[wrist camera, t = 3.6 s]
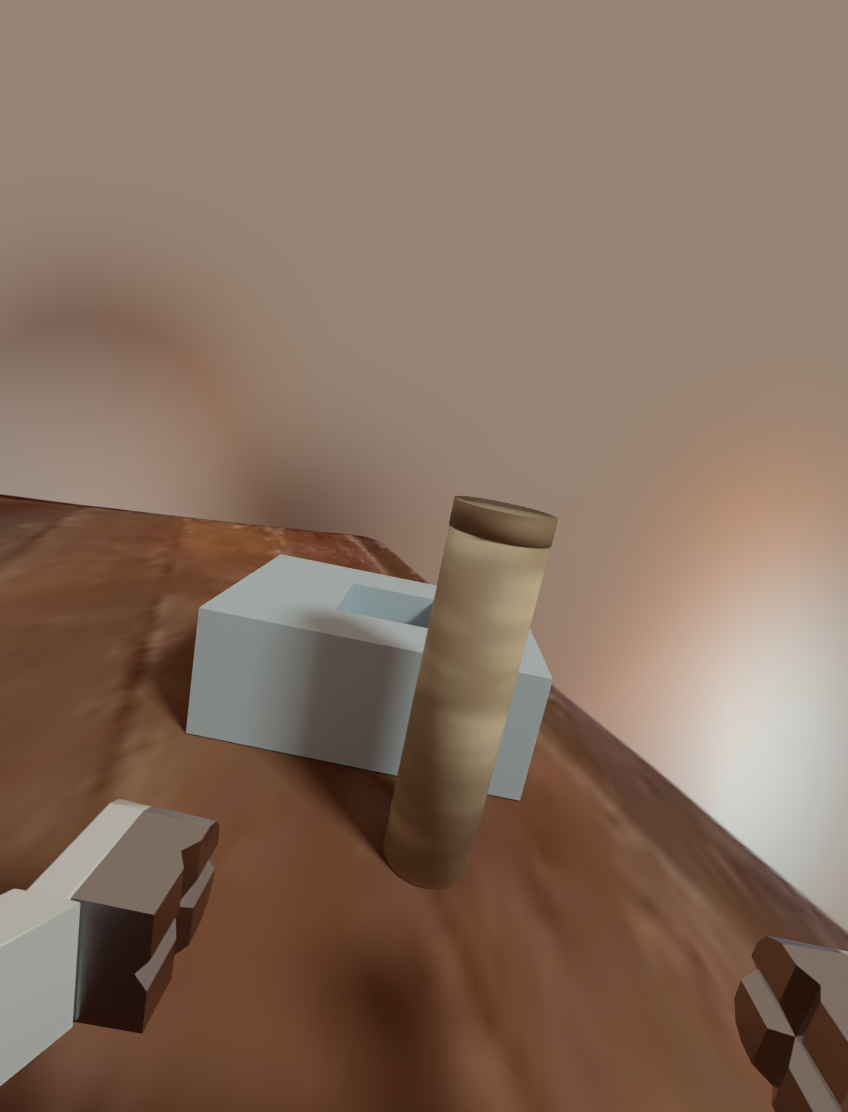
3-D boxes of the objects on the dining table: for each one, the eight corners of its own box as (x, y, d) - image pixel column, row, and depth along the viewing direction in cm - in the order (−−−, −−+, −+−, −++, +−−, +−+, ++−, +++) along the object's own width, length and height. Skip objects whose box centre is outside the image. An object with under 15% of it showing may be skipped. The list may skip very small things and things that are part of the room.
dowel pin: (366, 860, 17) (439, 497, 14) (404, 806, 19) (472, 495, 17) (452, 906, 16) (549, 523, 13) (480, 842, 18) (564, 516, 16)
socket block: (185, 733, 21) (198, 607, 20) (268, 641, 31) (280, 554, 30) (519, 800, 21) (552, 679, 20) (497, 688, 31) (518, 602, 30)
